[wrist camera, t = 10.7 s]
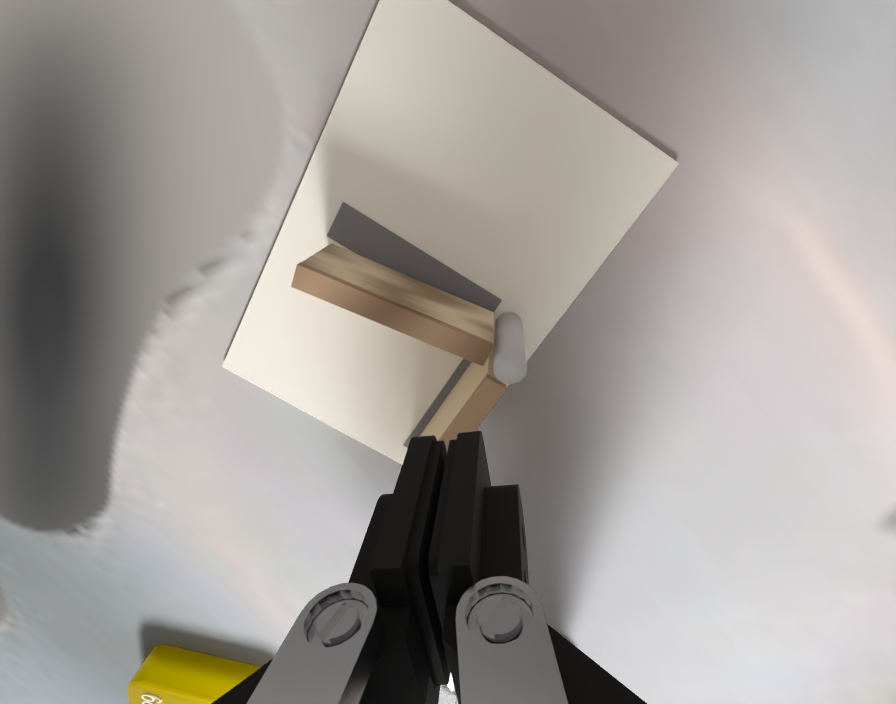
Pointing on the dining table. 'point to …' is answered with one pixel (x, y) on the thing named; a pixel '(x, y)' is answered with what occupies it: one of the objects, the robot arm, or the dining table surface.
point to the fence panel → (397, 302)
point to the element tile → (185, 677)
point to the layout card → (441, 224)
